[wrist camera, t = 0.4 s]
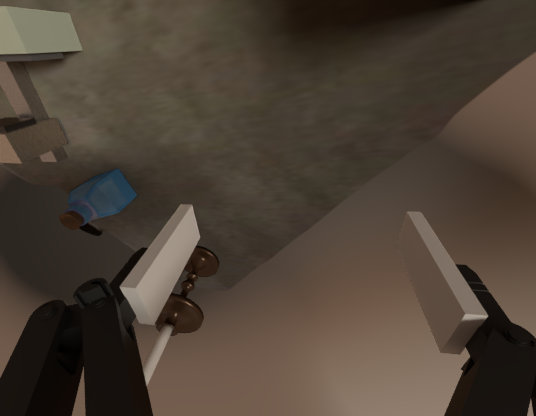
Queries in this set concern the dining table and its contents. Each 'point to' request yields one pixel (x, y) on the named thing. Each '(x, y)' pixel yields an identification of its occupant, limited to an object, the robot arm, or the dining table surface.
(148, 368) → the candlestick
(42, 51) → the block
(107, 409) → the robot arm
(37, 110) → the grey l-shaped piece
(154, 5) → the dining table surface
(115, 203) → the perfume bottle
